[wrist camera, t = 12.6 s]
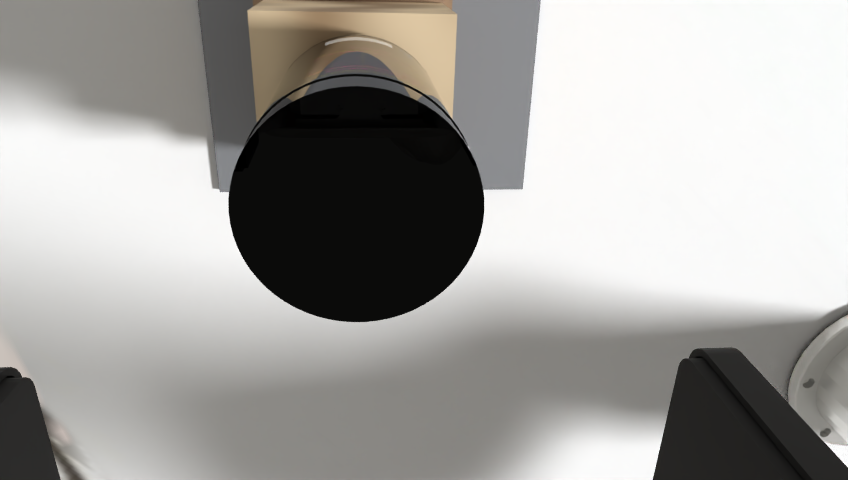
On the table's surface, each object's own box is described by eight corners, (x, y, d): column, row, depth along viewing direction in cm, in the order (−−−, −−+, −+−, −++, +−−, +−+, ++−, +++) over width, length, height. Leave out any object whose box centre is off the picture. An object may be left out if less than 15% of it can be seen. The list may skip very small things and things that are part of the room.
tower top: (442, 2, 30) (457, 14, 25) (435, 169, 33) (448, 205, 28) (264, -1, 29) (247, 10, 24) (276, 169, 32) (263, 207, 28)
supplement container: (287, 201, 28) (253, 335, 18) (260, 37, 25) (201, 97, 15) (443, 186, 28) (488, 309, 19) (434, 23, 25) (482, 72, 16)
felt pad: (553, -154, 32) (555, -155, 32) (520, 186, 40) (522, 189, 39) (180, -170, 30) (178, -171, 30) (221, 189, 38) (219, 191, 38)
